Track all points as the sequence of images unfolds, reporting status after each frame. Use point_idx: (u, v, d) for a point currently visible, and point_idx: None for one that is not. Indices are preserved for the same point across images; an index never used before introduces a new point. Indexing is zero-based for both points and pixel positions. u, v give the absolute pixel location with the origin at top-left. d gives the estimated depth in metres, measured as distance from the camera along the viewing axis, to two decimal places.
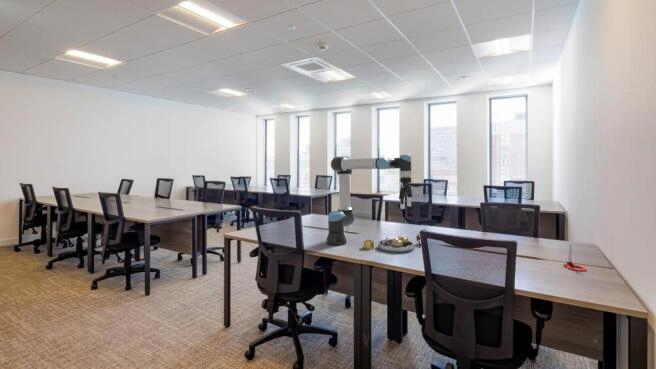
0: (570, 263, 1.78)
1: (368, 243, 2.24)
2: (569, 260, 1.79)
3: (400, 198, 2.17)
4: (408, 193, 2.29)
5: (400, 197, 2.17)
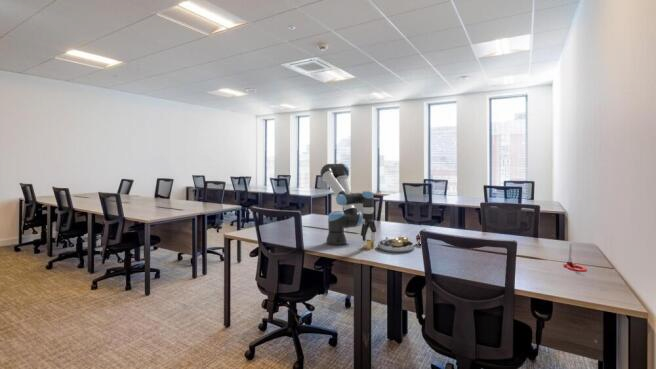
0: (570, 263, 1.78)
1: (368, 243, 2.24)
2: (569, 260, 1.79)
3: (362, 235, 2.19)
4: (372, 228, 2.31)
5: (361, 234, 2.18)
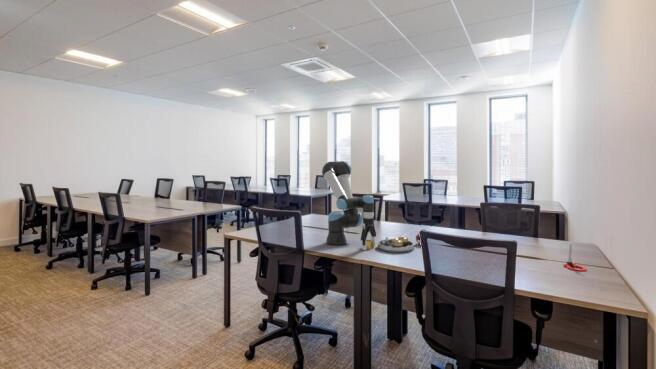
0: (570, 263, 1.78)
1: (368, 243, 2.24)
2: (569, 260, 1.79)
3: (362, 240, 2.19)
4: (372, 233, 2.31)
5: (361, 239, 2.18)
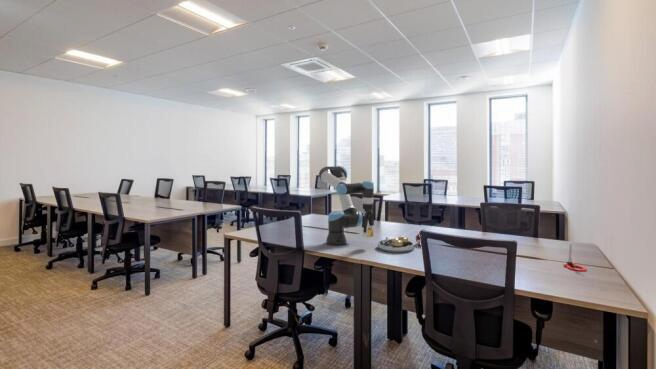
0: (570, 263, 1.78)
1: (368, 231, 2.24)
2: (569, 260, 1.79)
3: (363, 227, 2.21)
4: (370, 220, 2.29)
5: (363, 226, 2.21)
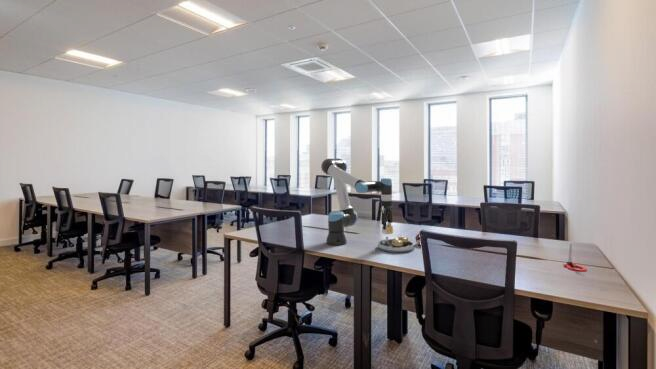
0: (570, 263, 1.78)
1: (387, 228, 2.24)
2: (569, 260, 1.79)
3: (382, 224, 2.22)
4: (388, 217, 2.30)
5: (382, 223, 2.21)
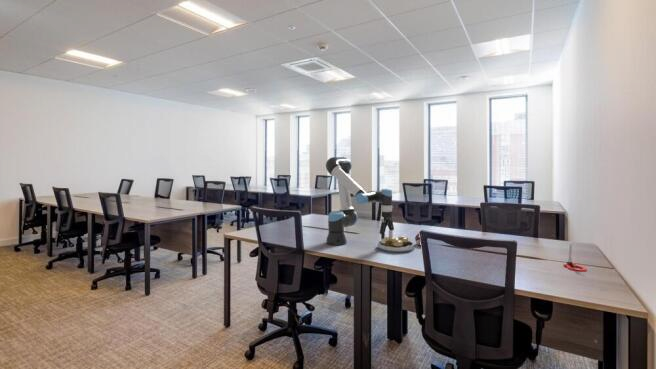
0: (570, 263, 1.78)
1: (387, 240, 2.25)
2: (569, 260, 1.79)
3: (381, 233, 2.20)
4: (389, 226, 2.32)
5: (380, 232, 2.19)
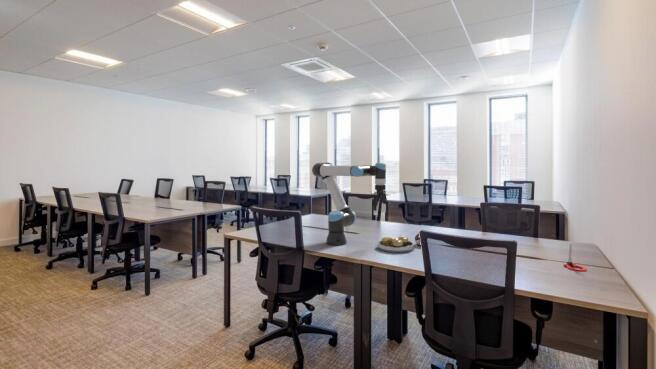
0: (570, 263, 1.78)
1: (387, 240, 2.25)
2: (569, 260, 1.79)
3: (373, 205, 2.26)
4: (383, 200, 2.38)
5: (373, 204, 2.26)
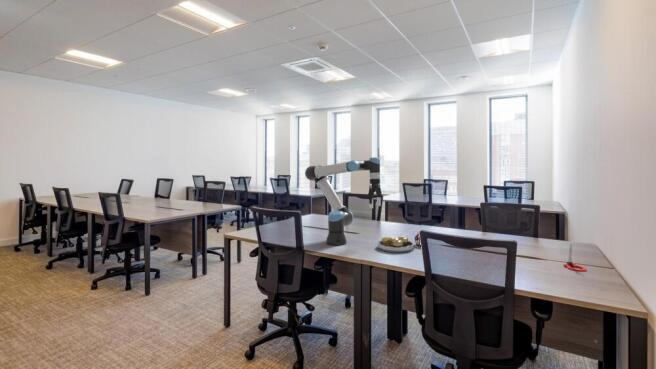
0: (570, 263, 1.78)
1: (387, 240, 2.25)
2: (569, 260, 1.79)
3: (368, 198, 2.32)
4: (378, 193, 2.44)
5: (368, 197, 2.31)
